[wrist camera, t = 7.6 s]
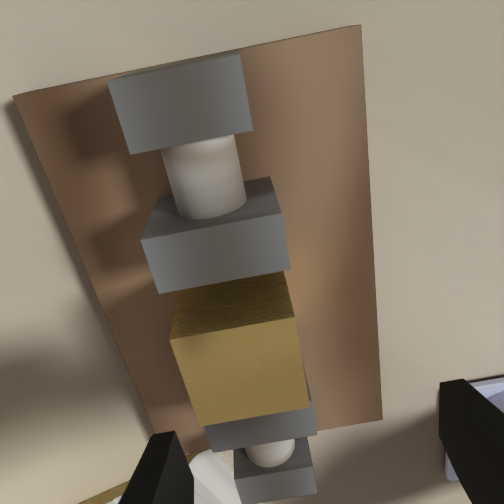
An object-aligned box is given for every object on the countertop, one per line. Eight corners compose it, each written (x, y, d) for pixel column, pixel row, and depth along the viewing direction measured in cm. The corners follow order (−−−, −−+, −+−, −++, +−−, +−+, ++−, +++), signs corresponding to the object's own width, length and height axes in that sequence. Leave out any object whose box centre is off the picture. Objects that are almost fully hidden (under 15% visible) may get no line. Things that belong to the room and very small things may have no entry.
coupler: (277, 245, 18) (294, 317, 13) (290, 322, 19) (310, 407, 15) (183, 263, 18) (169, 339, 13) (205, 337, 20) (199, 426, 15)
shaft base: (351, 25, 15) (404, 21, 11) (375, 402, 24) (409, 486, 19) (27, 91, 15) (-54, 114, 11) (167, 438, 24) (154, 529, 20)
